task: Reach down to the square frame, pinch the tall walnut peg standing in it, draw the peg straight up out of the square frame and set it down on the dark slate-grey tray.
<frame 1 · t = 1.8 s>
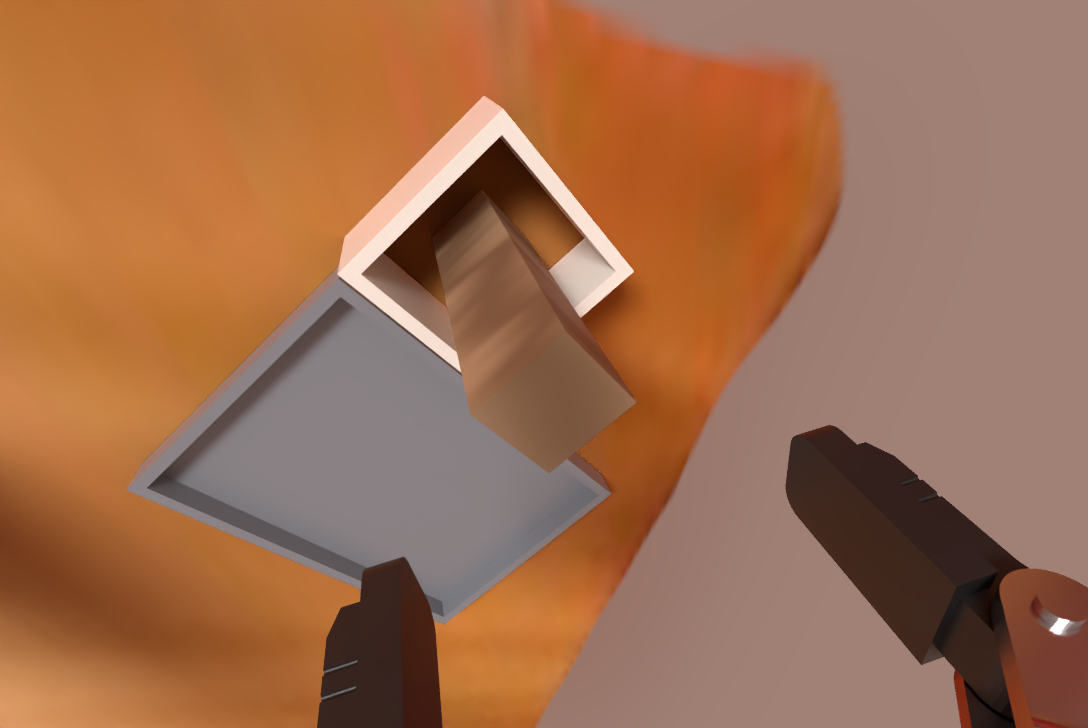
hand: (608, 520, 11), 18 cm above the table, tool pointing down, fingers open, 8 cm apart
peg: (507, 297, 20), in the square frame
square frame: (480, 237, 26), on the table
tray: (402, 470, 32), on the table
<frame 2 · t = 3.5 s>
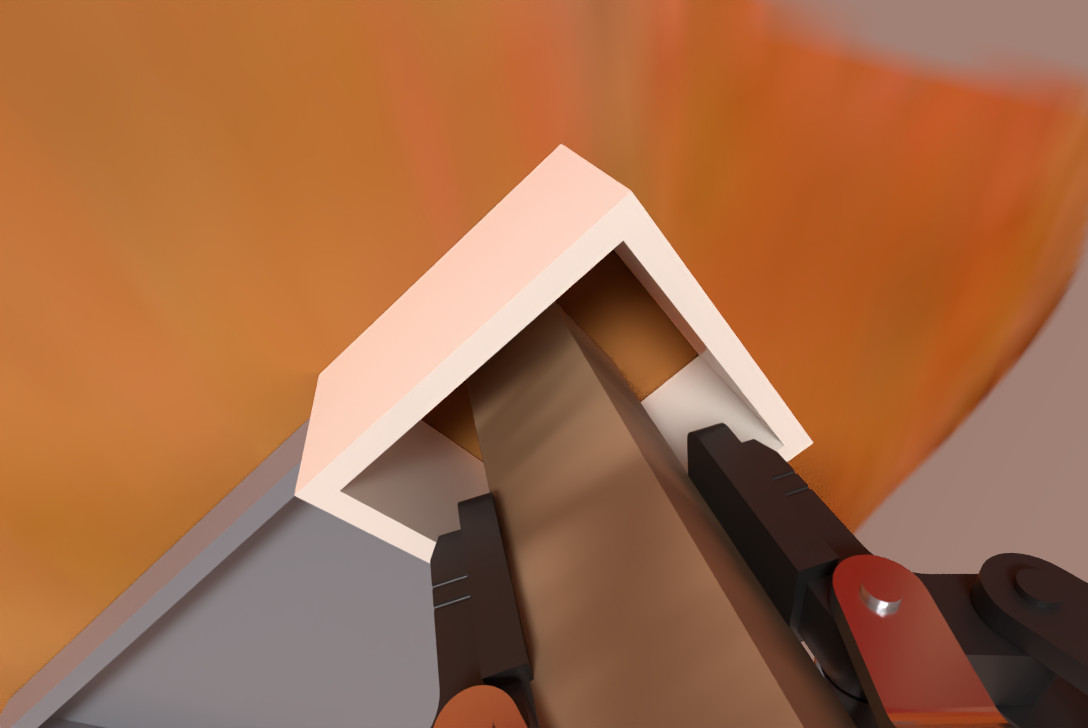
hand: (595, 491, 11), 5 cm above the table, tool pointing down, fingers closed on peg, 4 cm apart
peg: (625, 555, 10), in the square frame, touching gripper
square frame: (540, 363, 16), on the table
tray: (411, 663, 22), on the table
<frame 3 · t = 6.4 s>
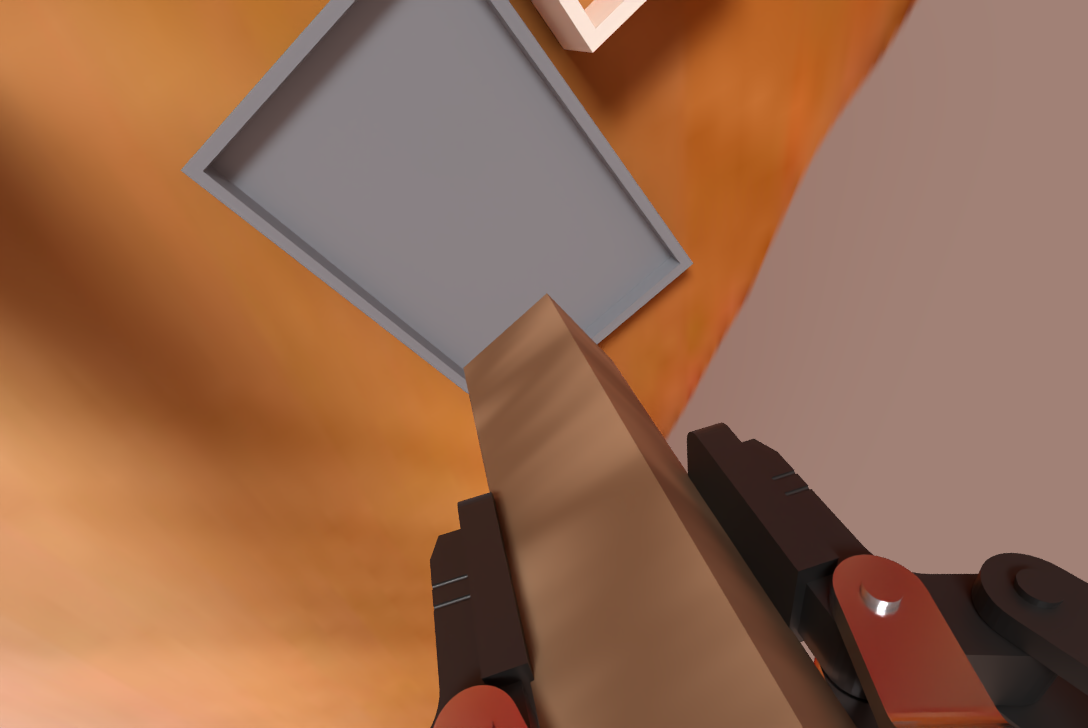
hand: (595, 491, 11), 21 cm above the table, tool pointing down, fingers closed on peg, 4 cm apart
peg: (625, 555, 10), point 23 cm above the table, touching gripper
tray: (472, 214, 29), on the table
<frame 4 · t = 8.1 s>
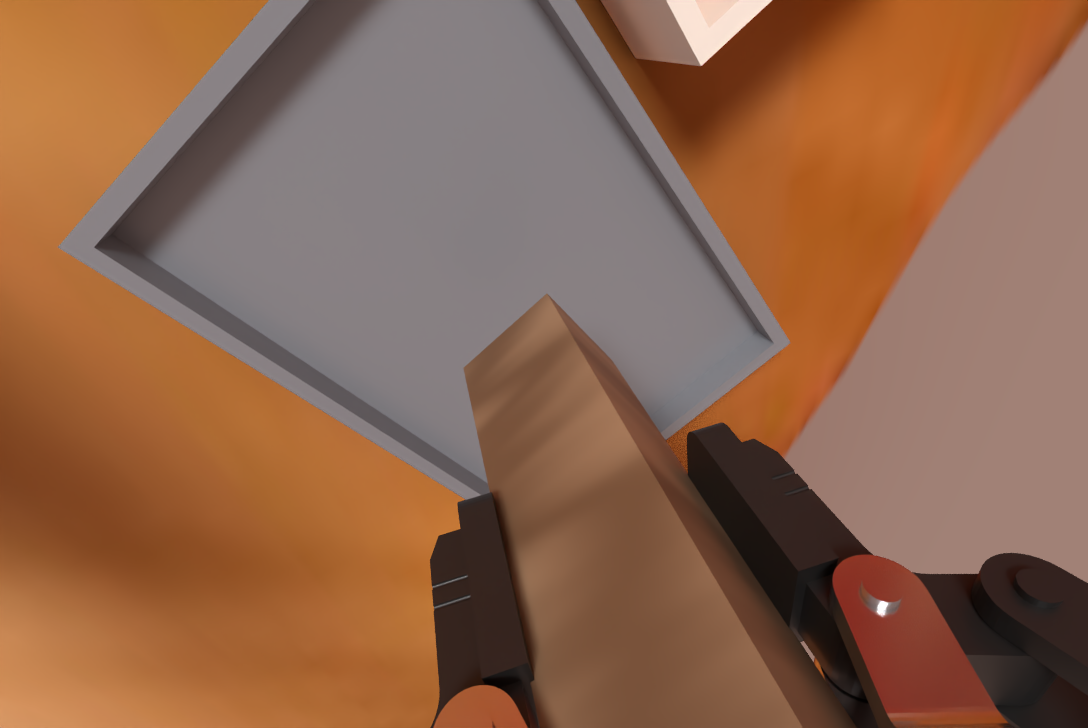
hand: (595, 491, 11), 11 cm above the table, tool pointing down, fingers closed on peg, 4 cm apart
peg: (625, 555, 10), point 13 cm above the table, touching gripper
tray: (498, 286, 21), on the table
when the fingers open (7 cm above the table, at t = 9.4 s): peg stays where it is, resting on tray.
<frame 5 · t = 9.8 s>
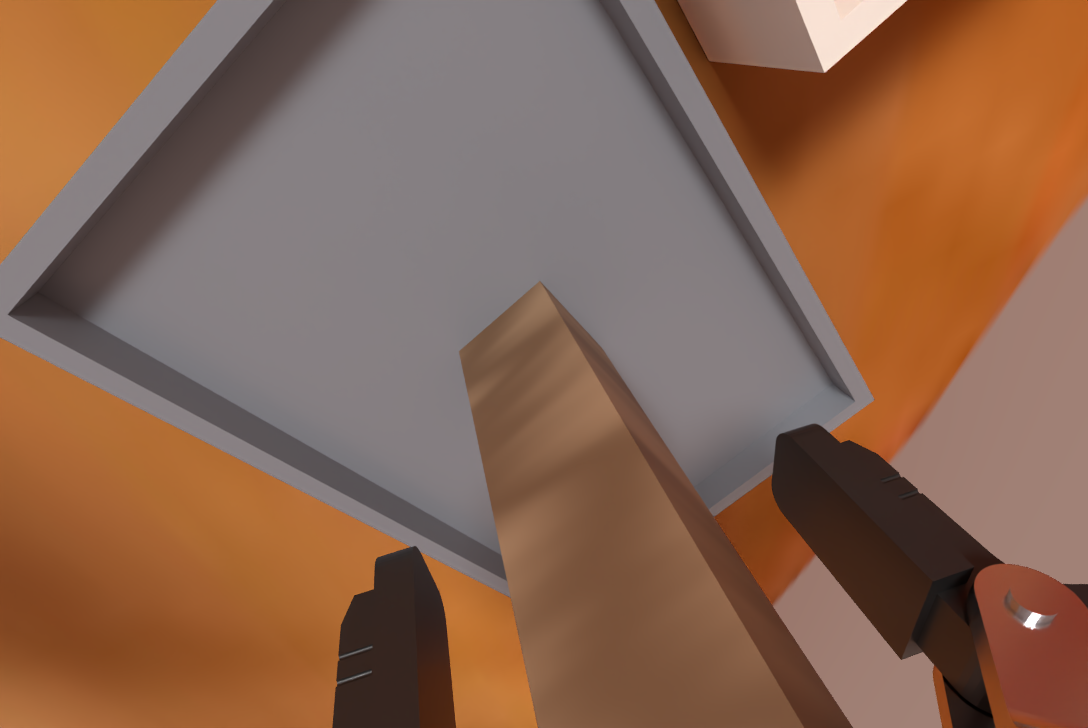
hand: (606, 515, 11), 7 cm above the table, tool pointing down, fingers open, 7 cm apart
peg: (608, 521, 11), in the tray, point 8 cm above the table
tray: (528, 339, 17), on the table
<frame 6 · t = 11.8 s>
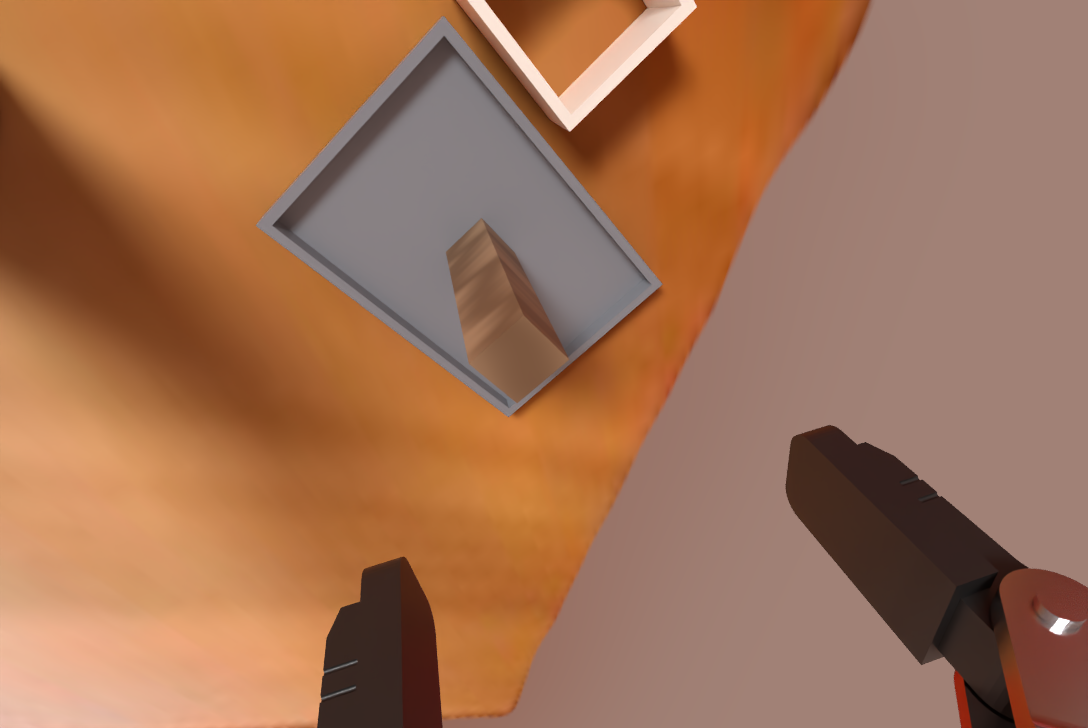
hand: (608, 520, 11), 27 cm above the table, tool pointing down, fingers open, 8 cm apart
peg: (496, 296, 29), in the tray, point 8 cm above the table
tray: (479, 248, 36), on the table
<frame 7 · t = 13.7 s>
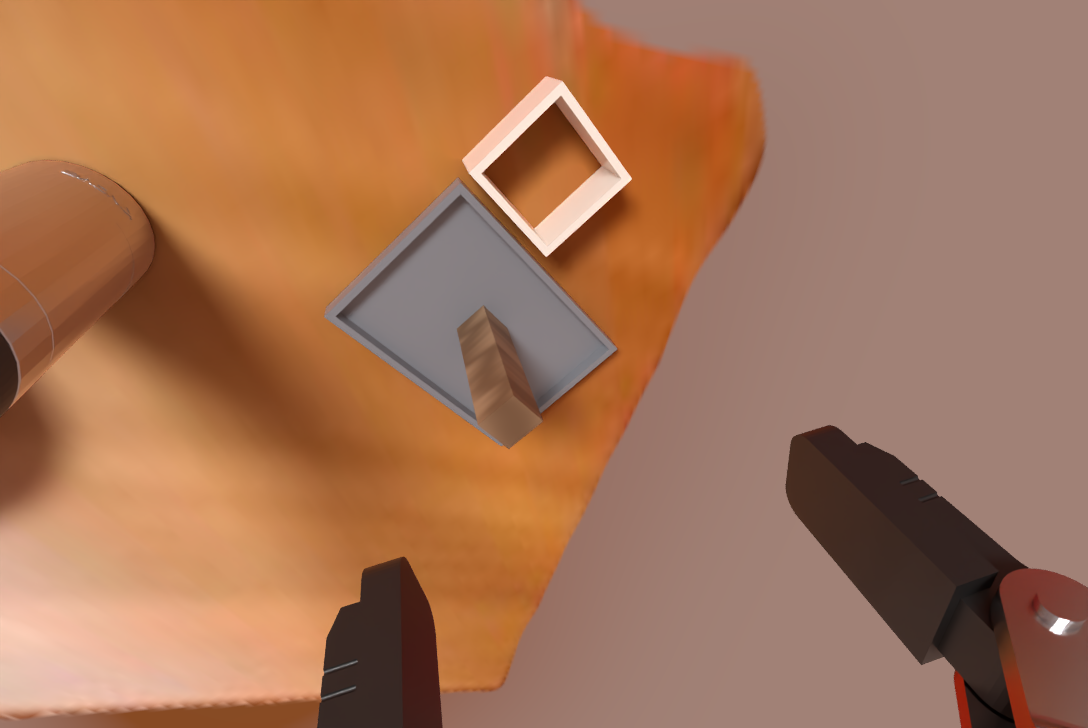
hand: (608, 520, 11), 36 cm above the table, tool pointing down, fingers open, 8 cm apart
peg: (494, 369, 42), in the tray, point 8 cm above the table
square frame: (539, 163, 42), on the table
tray: (481, 325, 48), on the table
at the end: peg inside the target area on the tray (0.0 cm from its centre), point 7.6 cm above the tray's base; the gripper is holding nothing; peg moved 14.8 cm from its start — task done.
